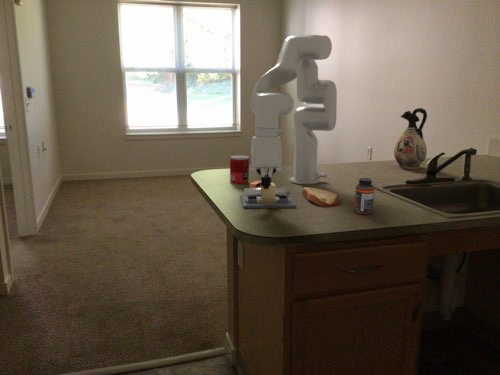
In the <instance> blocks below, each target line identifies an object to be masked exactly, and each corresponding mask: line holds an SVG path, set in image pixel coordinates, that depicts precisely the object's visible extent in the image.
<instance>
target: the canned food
mask: <svg viewBox="0 0 500 375" xmlns="http://www.w3.org/2000/svg"><path fill="white" fill-rule="evenodd" d="M229 168H230V169H229V181H230V183H231V184H234V185H246V184H248V183H249V181H250V156H248V155H243V154H241V155H239V154H238V155H237V154H235V155H231V156H230V157H229Z"/></svg>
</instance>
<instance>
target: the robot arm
mask: <svg viewBox="0 0 500 375" xmlns="http://www.w3.org/2000/svg"><path fill="white" fill-rule="evenodd" d="M332 47H333V45H332V40H331V38H330V37H329V36H328V35H320V34H298V35H297V34H295V35H290V36H288V37H286V38H285V39H284V41H283V43H282V46H281V48H280V51H279V54H278V57H277V60H276V62H275V65H274V67H273V68H271V69H269V70H268V71H267V72H265V73H264V74H263V75H262V76H261V77H260V78H259V79H258V80H257V82H256V83H255V84H254V87H253V91H252V92H251V96H250V104H249V105H250V106H249V107H250V110H251V111H252V112H253V113H254V114H255V119H254V120H255V126H254V127H255V131H254V134H255V135H254V136H252V139H251V145H250V154H249V155H250V156H249V164H250V165H249V171H250V172H254V173H258V175H260V180H261V186H263V188H264V189H269V186H271V183H272V182H271V177H272V178H273V175H275V173H276V172H281V171H283V148H282V140H281V136H280V135H281V134H284V130H283V129H282V128H280V127H279V126H280V125H279V123H280V118H279V117H280V116H287V115H289V114H290V113H291V112H292V111H293V109H294V104H295V103H294V99H293V97H292V95H291V94H290V93H287V92H281V91H280V92H276V91H271V90H273V89H274V88H277V87H280V86H283V85H285V84H288V83H291V82H293V81H294V80H296V97H297V98H296V99H297V101H298V102H299V103H301V104H308V105H322V106H323V107H322V106H308V105H307V106H299V107H297V108H296V109H295V110H294V112H293V125H294V155H293V156H294V158H293V176H292V177H289V181H290V182H291V183H293V184H297V185H317V184H319V183H320V178H322V179H324V178H328V173H327V172H319V171H318V170H317V162H318V161H317V160H318V138H317V136H316V134H315V133H314V132H313V131H319V132H320V131H322V132H326V131H327V132H330V131H333V130H334V129H335V127H336V125H337V110H338V109H337V103H338V102H337V100H338V91H337V86H336V85H337V84H336V83H335V82H334V81H332V80H330V79H319V66H318V64H317V62H316V61H317V60H319V61H321V60H327V59H328V58H330V56H331V53H332V49H333V48H332ZM265 169H267V172H265ZM265 173H266V174H265Z"/></svg>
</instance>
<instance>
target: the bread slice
mask: <svg viewBox="0 0 500 375" xmlns="http://www.w3.org/2000/svg"><path fill="white" fill-rule="evenodd" d="M301 194H302V195H303V197H304V198H305V199H306V200H308V201H309V202H311V203H312V204H315V205H316V206H320V207H325V208H331V207H337V205H338V204H339V203H340V202H341V201H340V197H339V195H338V193H336V192H333V191H329V190H325V189H321V188H316V187H308V186H307V187H306V186H305V187H303V189H302V191H301Z"/></svg>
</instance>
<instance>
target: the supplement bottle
mask: <svg viewBox="0 0 500 375" xmlns="http://www.w3.org/2000/svg"><path fill="white" fill-rule="evenodd" d="M374 197H375V187H374V186H373V179H371V178H370V177H369V178H368V177H360V178H359V179H358V184H357V185H356V186H355V193H354V203H353V204H354V207H353V211H354V212H355V214H358V215H371V214H372V213H373V208H374Z"/></svg>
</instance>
